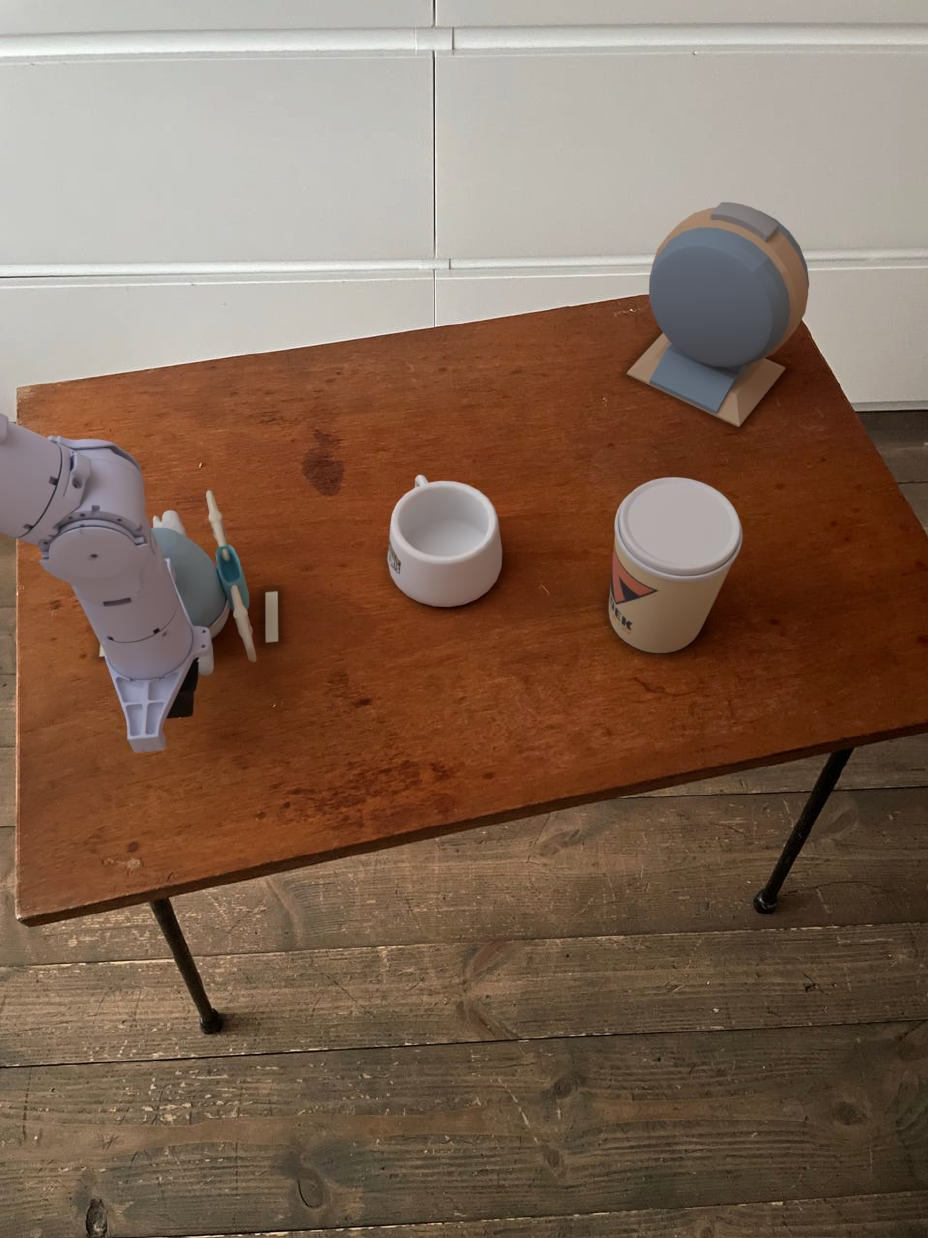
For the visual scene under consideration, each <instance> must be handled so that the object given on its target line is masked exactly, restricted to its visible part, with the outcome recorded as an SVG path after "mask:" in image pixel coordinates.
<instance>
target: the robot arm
mask: <svg viewBox="0 0 928 1238" xmlns="http://www.w3.org/2000/svg"><path fill="white" fill-rule="evenodd" d="M145 493H146V492H145V481H144V478H143V470H142V468H141V466H140V464H139V462H138V461H137V460H136V458H135V457H134V456H133V455H132V454H130V453H129V452H128V451H126V449H123V448H121V447H120V446H119V445H118V444H117V443H115V442H113V441H110V440H103V439H98V438H97V439H96V438H82V439H71V438H66V437H64V436H62V435H57V436H54V435H49V436H48V437H45V436H44V435H41V434H39V433H37V432H34V431H32V430H30V429H28V428H26V427H24V426H21V425H19V424H17V423H15V422H13V421H11V420H9V417H8V416H7V415H6V414H4V413H1V412H0V533H1V534H3V535H7V536H9V537H12V538H14V539H17V540H20V541H22V542H25V543H28V544H30V545H33V546H34V547H35V546H36V547H39V550H40V553H41V558H42V559H39V560H38V563H39V565H40V566H41V567H42V569H44V570H45V572H46V573H48V574H49V575H50V576H52V577H54V578H55V579H58V580H60V581H62V582H65V583H68V584H70V586H71V588H72V590H73V592H74V594H75V596H76V598H77V601H78V603H79V604H80V606H81V608H82V610H83V612H84V614H85V616H86V619H87V620H88V622H89V624H90V626H91V629H92V630H93V632H94V634H95V636H96V638H97V640H98V642H99V644H100V645H101V646H102V648H103V650H104V656H105V657H104V659H105V663H106V667H107V669H108V671H109V674H110V677H111V680H112V683H113V686H114V688H115V692H116V694H117V697H118V700H119V703H120V706H121V709H122V711H123V714H124V718H125V721H126V731H127V732H126V739H127V740H126V741H128V743H129V745H130V747H131V749H132V750H133V752H134V753H135V754H138V753H152V752H159V751H160V752H162V751H165V750H166V741H167V739H166V736H165V734H164V730H163V729H164V725H165V722H166V720H169V719H170V720H171V719H179V718H181V719H182V718H191V717H192V716H193V715H194V702H195V701H194V700H195V692H196V690H197V687H198V682H199V674H198V670H199V662H197V661H198V659H199V657H204V656H207V655H208V654H209V653H210V651H211V642H212V639H211V634H210V631H209V629H208V628H207V627H195V626H193V625H192V623H191V621H190V618H189V616H188V613H187V611H186V609H185V606H184V604H183V601H182V599H181V597H180V594H179V592H178V589H177V587H176V585H175V580H176V573H175V571H174V568H173V565H172V562H171V560H170V558H167V559H165V558H164V556H163V552H162V550H161V547H160V545H159V543H158V542H157V540H156V538H155V536H154V534H153V531H152V529H151V528H152V526H151V523H150V521H149V518H148V515H147V514H146V495H145Z"/></svg>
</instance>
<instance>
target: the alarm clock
mask: <svg viewBox="0 0 928 1238" xmlns="http://www.w3.org/2000/svg"><path fill="white" fill-rule="evenodd" d="M809 288H810V277H809V269H808V265H807V262H806V259H805V257H804V254H803V251H802V248H801V246H800V244H799V243H798V242H797V240H796V238H795V237H794V236H793V234H792V232H791V231H790V230H789V229H788V228H786V227H785V226H784V225H783V224H782V223H781V222H779V221H778V220H777V219H776V218H774V217H773V216H771V215H769V214H767V213H765V212H763V211H761V210H758V209H756V208H754V207H752V206H749V205H745V204H741V203H736V202H729V201H722V202H720V203H719V204H718V205H717V206H715V207H709V208H706V209H703V210H700V211H697V212H694V213H692V214H690V215H689V216H688V217H686V218H685V219H684V220H682V221H681V222H679V224H677V226H675V228H673V229H672V230H671V232H669V234H668V235H666V237H665V239H664V240H663V241H662V243H660V245H659V247H658V248H657V249H656V252H655V255H654V259H653V261H652V264H651V271H650V273H649V282H648V298H649V303H650V307H651V311H652V315H653V317H654V319H655V321H656V324H657V325H658V328H659V329H660V331H661V332H662V333H661V334H660V336H659V337H658V338H656V340H655V341H654V342H653V343H652V344H651V345H650V346H649V347H648V348H647V350H646V351H645V352H644V353H643V354H642V355H641V356H640V357H639V358H638V359H637V361H636V362H635V363H634V364H633V365H632V366H631V367H630V368H629V370H628V371H627V372H626V375H627V376H630V377H631V378H633V379H636V380H637V381H640V382H641V383H644V384H646V385H648V386H650V387H651V388H652V387H653V388H654V389H656V390H658V391H661V392H663V393H665V394H667V395H670V396H672V397H673V398H675V399H678V400H680V401H682V402H684V403H686V404H688V405H691V406H693V407H695V408H696V409H699V410H701V411H703V412H706V413H708V414H709V415H712V416H713V417H716V418H718V419H719V420H722V421H724V422H726V423H728V424H730V425H733V426H735V427H737V428H740V426H742V424H743V423H744V422H745V420H747V418H748V417H749V416H750V415H751V413H752V412H753V411H754V409H755V408H756V406H757V405H758V404H759V403H760V402H761V400H762V399H763V398H764V396H765V395H766V394H767V393H768V391H769V390H770V389H771V387H772V386H774V384H775V383H776V381H777V380H778V379H779V377H780V376H781V375H782V374H783V373H784V371H785V370H786V367H785V366H783V365H781V364H779V363H777V362H775V361H772V360H770V359H767V357H770V356H772V355H773V354H775V353H776V352H777V351H778V350H780V348H781V347H782V346H784V344H786V342H787V341H788V340H789V339H790V337H792V335H793V334H794V333H795V331H796V330H798V327H799V325H800V324H801V322H802V320H803V318H804V316H805V315H806V310H807V304H808V300H809V299H808V298H809Z"/></svg>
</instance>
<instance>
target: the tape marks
mask: <svg viewBox="0 0 928 1238" xmlns="http://www.w3.org/2000/svg"><path fill="white" fill-rule="evenodd" d="M278 594H279V591H267V592H266V591H265V643H266V644H269V643H278V642H279V595H278ZM99 646H100V647H99V655H98V657H99V658H105V656H104V650H103V648H102V646H101V644H100V645H99Z"/></svg>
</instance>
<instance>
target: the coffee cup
mask: <svg viewBox="0 0 928 1238" xmlns="http://www.w3.org/2000/svg"><path fill="white" fill-rule="evenodd" d="M742 543H743V526H742V524H741V520H740V518H739V515H738V512H737V511H736V509H735V507H734V506H733V504H732V503H731V502H730V501H729V500H728V498H727V497H726V496H725V495H724V494H722V493H721V492H720V491H718V490H717V489H715V488H714V487H712V486H710V485H708V484H706V483H704V482H701V481H698V480H695V479H692V478H685V477H677V476H676V477H675V476H674V477H673V476H672V477H662V478H657V479H652V480H650V481H647V482H645V483H643V484H641V485H639V486H637V487H636V488H635V489H634V490H632V491H631V492H630V493H629V494H628V495H626V497H625V498H624V499H623V500H622V501H621V503H620V505H619V507H618V509H617V511H616V514H615V518H614V541H613V551H612V560H611V561H612V562H611V573H610V585H609V597H608V615H609V616H608V617H609V620H610V623H611V626H612V628H613V629H614V631H615V632H616V634H617V635H618V636H619V637H620V638H621V639H622V640H623V641H624V642H625V643H627V644H628V645H630V646H632V647H633V648H635V649H637V650H640V651H643V652H647V653H652V654H667V653H673V652H676V651H679V650H681V649H683V648H685V647H686V646H688V645H689V644H691V643H692V642H693V641H694V640H695V639H696V637H697V636H698V634H699V633H700V631H701V629H702V627H703V626H704V624H705V621H706V619H707V617H708V615H709V614H710V611H711V609H712V607H713V605H714V603H715V601H716V599H717V597H718V594H719V592H720V590H721V588H722V586H723V584H724V581H725V579H726V578H727V575H728V573H729V572H730V569H731V566H732V564H733V563H734V561H735V560H736V558H737V557H738V556H739V553H740V550H741V547H742Z"/></svg>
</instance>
